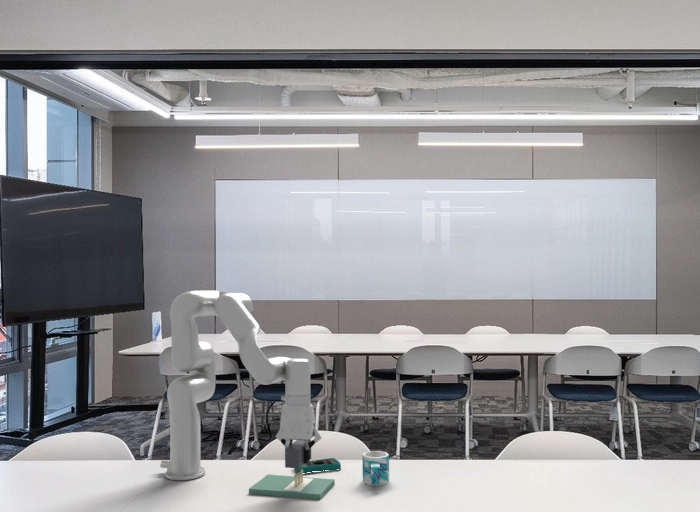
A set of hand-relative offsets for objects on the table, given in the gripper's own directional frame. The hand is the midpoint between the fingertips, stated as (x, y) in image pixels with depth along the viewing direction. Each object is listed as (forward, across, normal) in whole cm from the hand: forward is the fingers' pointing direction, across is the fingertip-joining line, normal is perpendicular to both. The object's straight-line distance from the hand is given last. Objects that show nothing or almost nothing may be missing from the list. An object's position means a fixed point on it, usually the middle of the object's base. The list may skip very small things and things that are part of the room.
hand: (298, 461), depth 184 cm
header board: (+8, -2, 0) cm, 9 cm away
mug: (+9, +21, +11) cm, 25 cm away
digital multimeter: (+9, -1, +21) cm, 23 cm away
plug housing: (+1, 0, +2) cm, 2 cm away
